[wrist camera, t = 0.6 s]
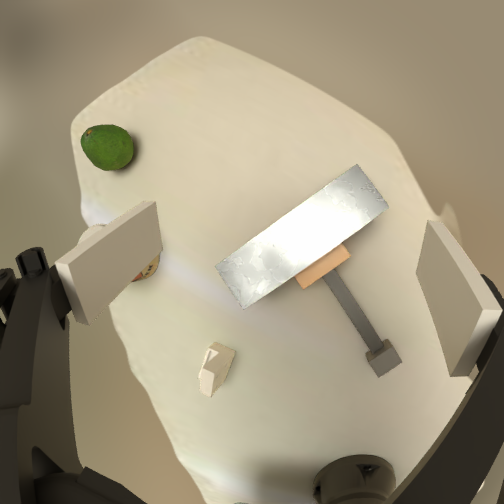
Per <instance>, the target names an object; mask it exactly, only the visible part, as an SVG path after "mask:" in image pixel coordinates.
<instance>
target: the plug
mask: <svg viewBox="0 0 504 504" xmlns="http://www.w3.org/2000/svg"><path fill="white" fill-rule="evenodd" d="M349 257H351V255H350V254H349V253H348V251H347V250H346V248H345V247H344V245H343V244H342V242H341V243H340V244H339V245H337V246H336V247H335V248H333V249H332V250H330V251H329V252H327V253H326V254H325V255H323V256H322V257H320V258H319V259H318V260H316V261H315V262H313V263H312V264H310V265H309V266H308V267H306V268H305V269H303V270H302V271H300V272H299V273H298V274H296V275H295V276H294V277H295V278H296V280H297V281H298V283H299V284H300V286H301V287H302V289H305V288H306V287H308V286H309V285H311V284H312V283H314V282H315V281H316V280H318V279H319V278H321V277H323V279H324V280H325V282H326V283H327V285H328V286H329V288H330V289H331V291H332V292H333V294H334V295H335V297H336V298H337V300H338V301H339V303H340V304H341V306H342V307H343V309H344V310H345V312H346V313H347V315H348V316H349V318H350V319H351V321H352V322H353V324H354V325H355V327H356V328H357V330H358V332H359V333H360V335H361V336H362V338H363V339H364V341H365V342H366V344H367V346H368V347H369V349H370V351H369V352H367V353H365V354H366V357H367V359H368V362H369V363H370V365H371V367H372V368H373V370H374V371H375V373H376V375H377V376H378V378H379V377H381V376H382V375H384V374H385V373H387V372H389V371H390V370H392V369H393V368H394V367H396V366H397V365H399V364H400V363H402V361H401V359H400V357H399V356H398V354H397V352H396V351H395V349H394V347H393V346H392V344H391V343H390V342H389V340H388V339H386V340H385V341H383V342H381V340H380V338H379V337H378V335H377V334H376V332H375V330H374V329H373V327H372V326H371V324H370V323H369V321H368V319H367V318H366V316H365V315H364V313H363V312H362V310H361V308H360V307H359V305H358V304H357V302H356V301H355V299H354V298H353V296H352V295H351V293H350V292H349V290H348V289H347V287H346V286H345V284H344V283H343V281H342V280H341V278H340V277H339V275H338V274H337V272H336V271H335V269H334V268H335V267H337V266H338V265H339V264H341V263H342V262H344V261H345V260H346V259H348V258H349Z"/></svg>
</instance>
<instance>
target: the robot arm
mask: <svg viewBox="0 0 504 504" xmlns="http://www.w3.org/2000/svg"><path fill="white" fill-rule="evenodd" d="M162 250H163V247H162V241H161V235H160V228H159V221H158V214H157V207H156V201H143V202H141V203H140V204H138V205H137V206H135V207H134V208H132V209H130V210H129V211H127V212H126V213H124V214H123V215H121V216H120V217H118V218H117V219H115V220H114V221H112V222H111V223H109V224H108V225H106V226H105V227H103V228H102V229H100V230H99V231H97V232H96V233H94V234H93V235H92V236H90V237H89V238H87V239H86V240H84V241H83V242H82V243H80V244H79V245H77V246H76V247H75V248H73V249H72V250H71V251H69V252H68V253H66V254H65V255H64V256H62V257H61V258H60V259H59V260H57V261H56V262H55V265H53V266H52V267H51V268H50V269H49V266H48V263H47V260H46V256H45V253H44V250H43V248H41V247H35V248H30V249H28V250H25V251H24V252H22V253H20V254H19V255H18V256H17V257H16V262H17V265H18V268H19V270H20V273H21V276H22V278H21V279H20V278H19V279H16V277H15V274H14V271H13V269H11V268H6V269H1V270H0V308H1V310H2V312H3V314H4V316H5V318H6V320H7V321H6V323H5V324H4V323H3V322H2V320H1V318H0V504H147V503H145V502H144V501H142V500H141V499H140V498H138V497H137V496H136V495H134V494H133V493H132V492H130V491H129V490H128V489H127V488H125V487H124V486H123V485H121V484H120V483H117V482H115V481H113V480H111V479H109V478H107V477H105V476H103V475H101V474H99V473H97V472H95V471H93V470H92V469H90V468H88V467H85V468H84V469H83V467H82V465H81V464H80V461H79V458H78V454H77V448H76V441H75V433H74V425H73V416H72V404H71V391H70V371H69V319H68V317H67V314H68V313H69V312H70V311H71V310H72V312H73V315H74V317H75V319H76V321H77V322H79V323H82V324H86V325H89V326H90V325H91V323H92V322H93V321H94V320H95V319H96V318H97V317H98V316H99V315H100V314H101V312H102V311H103V310H104V309H105V308H106V307H107V306H108V305H109V304H110V303H111V302H112V301H113V300H114V299H115V298H116V297H117V296H118V295H119V294H120V293H121V292H122V291H123V290H124V289H125V287H126V286H127V285H128V284H129V283H130V282H131V281H132V280H133V279H134V278H135V277H136V276H137V275H138V274H139V273H140V272H141V271H142V270H143V269H144V268H145V267H146V266H147V265H148V264H149V263H150V262H151V261H152V260H153V259H154V258H155V257H156V256H157V255H158V254H159V253H160V252H161V251H162ZM416 275H417V277H418V280H419V283H420V285H421V288H422V290H423V293H424V296H425V298H426V301H427V304H428V307H429V310H430V312H431V315H432V318H433V321H434V324H435V327H436V330H437V333H438V337H439V340H440V343H441V346H442V350H443V353H444V356H445V360H446V364H447V367H448V371H449V375H450V377H457V376H469V374H470V372H471V371H472V369H473V367H474V366H475V364H477V367H478V370H479V373H478V375H477V376H476V378H475V379H474V381H473V383H472V384H471V386H470V387H469V389H468V390H467V392H466V393H465V394H466V395H465V397H464V399H463V400H462V402H461V404H460V405H459V407H458V408H457V410H456V412H455V413H454V415H453V416H452V418H451V419H450V421H449V422H448V424H447V425H446V427H445V428H444V430H443V431H442V433H441V434H440V435H439V437H438V438H437V440H436V441H435V442H434V444H433V445H432V446H431V448H430V449H429V450H428V452H427V453H426V454H425V455H424V457H423V458H422V459H421V461H420V462H419V463H418V464H417V466H416V467H415V468H414V469H413V470H412V472H411V473H410V474H409V475H408V476H407V477H406V479H405V480H404V481H403V482H402V483H401V484H400V485H399V486H398V488H397V489H396V490H395V491H394V489H395V484H396V479H395V474H394V471H393V468H392V466H391V465H390V464H389V463H388V462H387V461H385V460H384V459H382V458H379V457H376V456H371V455H354V456H349V457H345V458H341V459H339V460H336V461H334V462H332V463H330V464H329V465H327V466H326V467H325V468H323V469H322V470H321V471H320V472H319V473H318V475H317V476H316V478H315V480H314V485H313V498H314V501H315V503H316V504H470V503H471V501H472V500H473V498H474V496H475V495H476V493H477V491H478V490H479V488H480V486H481V485H482V483H483V481H484V479H485V478H486V476H487V474H488V472H489V470H490V468H491V466H492V465H493V462H494V460H495V459H496V457H497V455H498V453H499V451H500V448H501V446H502V444H503V442H504V299H503V298H502V296H501V294H500V292H498V290H497V288H496V286H495V285H494V283H493V282H492V281H491V280H490V279H489V278H487V277H486V276H485V275H483V274H480V273H479V272H478V270H477V269H476V268H475V266H474V265H473V263H472V262H471V260H470V259H469V257H468V256H467V255H466V253H465V252H464V250H463V249H462V248H461V246H460V245H459V244H458V242H457V241H456V240H455V238H454V237H453V236H452V234H451V233H450V232H449V230H448V229H447V228H446V227H445V225H444V224H443V223H442V222H438V221H430V220H427V225H426V230H425V235H424V240H423V245H422V249H421V254H420V258H419V262H418V266H417V270H416ZM235 504H247V503H235ZM497 504H504V480H503V484H502V487H501V491H500V494H499V498H498V501H497Z"/></svg>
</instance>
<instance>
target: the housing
mask: <svg viewBox="0 0 504 504" xmlns="http://www.w3.org/2000/svg"><path fill="white" fill-rule="evenodd" d="M388 208H389V206H388V204H387V203H386V201H385V200H384V199H383V197H382V196H381V195H380V193H379V192H378V190H377V189H376V188H375V186H374V185H373V184H372V182H371V181H370V180H369V178H368V177H367V176H366V174H365V173H364V172H363V171H362V169H361V168H360V167H359V165H358V164H356V165H355V166H353V167H352V168H350V169H349V170H348V171H346V172H345V173H343V174H342V175H341V176H339V177H338V178H336V179H335V180H334V181H332V182H331V183H329V184H328V185H327V186H325V187H324V188H322V189H321V190H320V191H318V192H317V193H315V194H314V195H313V196H311V197H310V198H308V199H307V200H306V201H304V202H303V203H301V204H300V205H299V206H297V207H296V208H294V209H293V210H292V211H290V212H289V213H288V214H286V215H285V216H283V217H282V218H281V219H279V220H278V221H276V222H275V223H274V224H272V225H271V226H269V227H268V228H267V229H265V230H264V231H263V232H261V233H260V234H258V235H257V236H256V237H254V238H253V239H252V240H250V241H249V242H247V243H246V244H245V245H243V246H242V247H241V248H239V249H238V250H236V251H235V252H234V253H232V254H231V255H230V256H228V257H227V258H225V259H224V260H223V261H221V262H220V263H219V264H217V265H216V266H215V268H216V269H217V271H218V272H219V274H220V275H221V277H222V278H223V280H224V281H225V283H226V284H227V286H228V287H229V289H230V290H231V292H232V293H233V295H234V296H235V298H236V299H237V301H238V302H239V304H240V305H241V307H242V308H243V310H244V309H246V308H247V307H249V306H250V305H252V304H253V303H255V302H256V301H258V300H259V299H261V298H262V297H264V296H265V295H267V294H268V293H270V292H271V291H273V290H274V289H276V288H277V287H279V286H280V285H281V284H283V283H284V282H286V281H287V280H289V279H290V278H292V277H293V276H295V275H296V274H298V273H299V272H300V271H302V270H303V269H305V268H306V267H308V266H309V265H310V264H312V263H313V262H315V261H316V260H318V259H319V258H320V257H322V256H323V255H325V254H326V253H327V252H329V251H330V250H332V249H333V248H335V247H336V246H337V245H339V244H340V243H341V242H343V241H344V240H346V239H347V238H348V237H350V236H351V235H353V234H354V233H355V232H357V231H358V230H359V229H361V228H362V227H364V226H365V225H366V224H368V223H369V222H370V221H372V220H373V219H374V218H376V217H377V216H378V215H380V214H381V213H382V212H384V211H385V210H386V209H388Z"/></svg>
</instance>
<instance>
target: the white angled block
mask: <svg viewBox="0 0 504 504" xmlns="http://www.w3.org/2000/svg"><path fill="white" fill-rule="evenodd" d="M235 352H236V351H234V350H232V349H229V348H227V347H225V346H223V345H220V344H218V343H216V342H215V343H213V344H212V345H211V346H209V347H208V350H207V352H206V355H205V358H204V361H203V364H202V367H201V370H200V373H199V376H198V379H201V381H200V391H199V392H200V393H202V394H205V395H207V396H209V397H211V396H212V395H213V394H214V393H215V392H216V391H217V389H218V388H219V387H220V386H221V385H222V383H223V382H224V381H225V379H226V376H227V374H228V371H229V368H230V366H231V363H232V360H233V358H234V355H235Z"/></svg>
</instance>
